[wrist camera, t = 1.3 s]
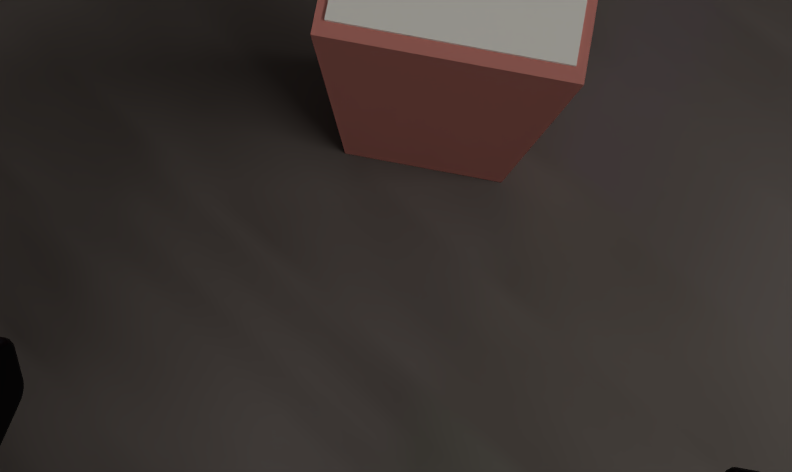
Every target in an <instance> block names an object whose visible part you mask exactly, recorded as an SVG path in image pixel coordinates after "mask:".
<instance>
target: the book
mask: <svg viewBox="0 0 792 472" xmlns="http://www.w3.org/2000/svg"><path fill="white" fill-rule="evenodd" d="M597 3H598V0H317V5H316V10H315V15H314V20H313V25H312V30H311V34H310V35H311V38H312V42H313V45H314V48H315V52H316V55H317V59H318V62H319V65H320V69H321V72H322V76H323V79H324V83H325V86H326V89H327V93H328V96H329V100H330V103H331V107H332V110H333V113H334V117H335V120H336V124H337V127H338V130H339V134H340V137H341V141H342V144H343V148H344V151H345V153H346V154H351V155H356V156H362V157H367V158H372V159H378V160H383V161H389V162H394V163H399V164H405V165H410V166H415V167H421V168H426V169H432V170H437V171H442V172H448V173H453V174H459V175H464V176H469V177H475V178H480V179H485V180H491V181H496V182H502V181H503V180H504V179H505V177H506V176H507V175H508V174H509V173H510V171H511V170H512V169H513V168H514V167H515V166H516V164H517V163H518V162H519V161H520V160H521V159H522V157H523V156H524V155H525V154H526V153H527V151H528V150H529V149H530V148H531V147H532V146H533V144H534V143H535V142H536V141H537V140H538V138H539V137H540V136H541V135H542V134H543V133H544V131H545V130H546V129H547V128H548V127H549V125H550V124H551V123H552V122H553V121H554V120H555V118H556V117H557V116H558V115H559V114H560V112H561V111H562V110H563V109H564V108H565V107H566V105H567V104H568V103H569V102H570V101H571V99H572V98H573V97H574V96H575V95H576V94H577V92H578V91H579V90H580V89H581V88H582V86H583V85H584V81H585V75H586V69H587V63H588V57H589V51H590V45H591V39H592V33H593V27H594V21H595V15H596V9H597Z"/></svg>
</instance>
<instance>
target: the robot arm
mask: <svg viewBox="0 0 792 472" xmlns="http://www.w3.org/2000/svg"><path fill="white" fill-rule="evenodd" d="M23 389H24V383H23V377H22V373H21V370H20V366H19V362H18V358H17V354H16V350H15V347H14V344H13V343H12V342H11V341H10V340H9V339H7V338H4V337H0V445H1V443H2V441H3V438H4V436H5V434H6V432H7V429H8V427H9V425H10V423H11V421H12V418H13V416H14V414H15V412H16V410H17V407H18V405H19V403H20V401H21V398H22V394H23ZM725 472H759V471H754V470H749V469H743V468H737V467H732V468H730V469H728V470H726V471H725Z"/></svg>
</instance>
